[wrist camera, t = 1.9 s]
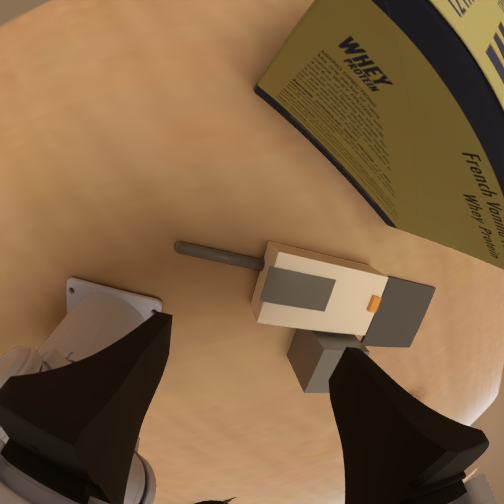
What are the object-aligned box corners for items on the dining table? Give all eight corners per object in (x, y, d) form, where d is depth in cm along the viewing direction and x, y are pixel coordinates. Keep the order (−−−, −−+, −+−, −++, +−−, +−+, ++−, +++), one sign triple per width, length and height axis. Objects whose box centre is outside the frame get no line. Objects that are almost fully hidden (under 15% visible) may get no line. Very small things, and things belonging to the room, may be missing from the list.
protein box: (389, 229, 22) (549, 297, 7) (249, 91, 17) (350, -67, 2) (443, 147, 21) (583, 157, 6) (330, 19, 16) (447, -81, 1)
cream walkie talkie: (348, 318, 23) (367, 337, 20) (166, 286, 20) (160, 307, 17) (368, 265, 22) (391, 279, 19) (179, 220, 19) (174, 229, 16)
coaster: (407, 346, 26) (409, 347, 25) (359, 343, 24) (361, 345, 24) (433, 287, 24) (435, 288, 24) (388, 276, 23) (390, 277, 22)
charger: (325, 358, 24) (347, 392, 19) (286, 355, 23) (303, 392, 18) (346, 309, 23) (376, 338, 18) (306, 302, 22) (330, 334, 17)
